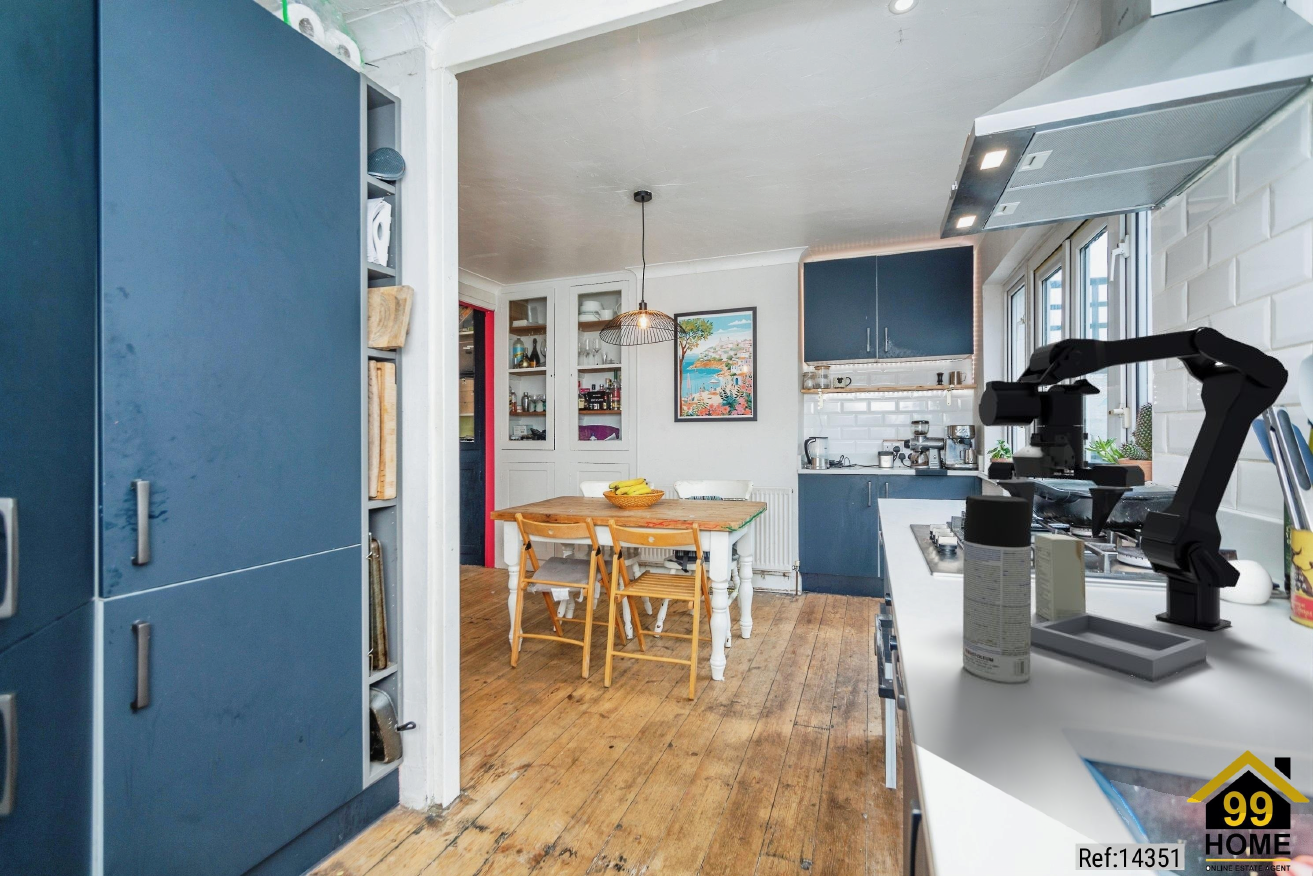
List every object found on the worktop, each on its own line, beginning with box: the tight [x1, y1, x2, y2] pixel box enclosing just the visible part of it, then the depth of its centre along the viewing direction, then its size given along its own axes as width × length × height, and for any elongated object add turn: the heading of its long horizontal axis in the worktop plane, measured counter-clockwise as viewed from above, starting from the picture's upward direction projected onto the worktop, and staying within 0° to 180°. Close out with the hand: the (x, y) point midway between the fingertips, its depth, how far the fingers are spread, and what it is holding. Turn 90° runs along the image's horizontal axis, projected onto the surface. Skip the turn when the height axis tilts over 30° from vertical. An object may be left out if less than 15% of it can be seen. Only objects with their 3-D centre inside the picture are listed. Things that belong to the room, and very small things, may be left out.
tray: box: [1031, 611, 1207, 683], centre depth 71 cm, size 13×13×2 cm
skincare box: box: [1033, 533, 1087, 621], centre depth 85 cm, size 6×4×12 cm
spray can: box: [962, 494, 1032, 685], centre depth 65 cm, size 7×7×20 cm
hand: (1060, 531), depth 85 cm, fingers open, 9 cm apart
